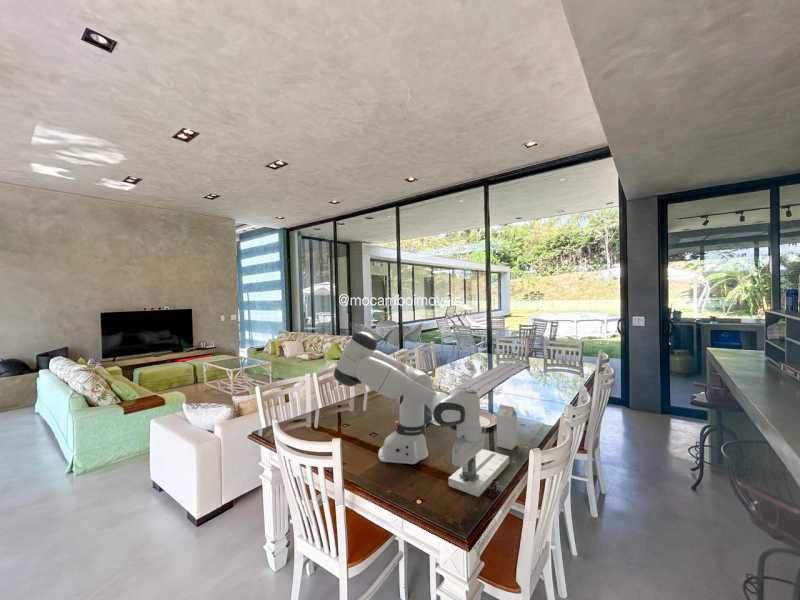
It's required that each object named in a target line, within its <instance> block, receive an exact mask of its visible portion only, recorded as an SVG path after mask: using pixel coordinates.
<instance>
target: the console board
mask: <svg viewBox="0 0 800 600" xmlns="http://www.w3.org/2000/svg"><path fill="white" fill-rule="evenodd" d="M475 460H476V474H479V477H478V478H477V479H476V480H475V481H472V480H469V479H466V478H464V477H461V476H459V475H460V474H461V473H462V472H463V471H462V467H458V468H459V469H457V470H456V471H455V472H453V474H451V475H450V476H449V477H448V487H450V488H453V489H456V490H458V491H462V492H464V493H467V494H470V495H472V496H475V497H477V498H479V497H480V496H481V495H482V494H483V493H484V491H486V490H487V488H489V486H490V485H491V484H492V483H494V481H495V480H496V478H497V477H499V475H500V474H501V473H502V472H503V471H504V470H505V469H506V467H507V466H509V464H510V456H509V455H505V454H501V453H499V452H495V451H492V450H488V449H485V448H483V449H482V450H481V451H480V452H479V453H477V454H476V459H475ZM494 479H495V480H494ZM493 480H494V481H493Z"/></svg>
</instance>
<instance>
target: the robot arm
mask: <svg viewBox="0 0 800 600" xmlns="http://www.w3.org/2000/svg"><path fill="white" fill-rule="evenodd" d="M377 345H378V341H377V339H376V338H375V336H373V334H371V333H370V332H367V331H362V330H361V331H356V332H355V333H354V334H353V335H352V336H351V339H350V340H349V342H348V343H347V345H346V346H345V348H344V349H343V351H342V354H341V355H340V357H339V360H338V363H337V364H336V365H337V366H335V369H334V372H333V376H334V379H335V380H336V381H337V382H338V383H339V384H341V385H342V386H346V387H355V386H357V385H361V384H362V383H363V384H364V386H366V387H368V388H369V389H371V390H372V391H374V392H375V393H376V392H377V393H378V394H380V395H382V396H384V397H387V398H390V399H398V398H400V397H402V396H403V399H402V402H401V403H400V404H399V421H398V420H395V421H394V424H393V425H394V426H395V428H394V431H393V432H392V433H391V434H388V435H387V436H386V437H385V439H384V442H383V445H382V446H381V447H379V450H378V454H377V455H378V457H377V458H378V460H379V461H380V462H381V463H382V462H383V463H395V464H407V465H408V464H409V465H415V464H417V463H418V462H420V461H422V460H425V459H426V458H428V457H429V452H428V448H427V443H426V432H427V431H426V430H427V429H426V423H425V422H424V404H425V405H427V406H428V408H429V409H430V410H431V412H432V418H434V421H435V422H436V423H437V424H438V425H439V426H442V427H452V426H456V437H457V439H456V441H455V442H454V443H453V446H452V450H451V451H452V452H451V463H452V465H453V466H455V467H458V468H461V467H462V466H463V471H464V472H468V471H469V466H468V461H469V460H470V459H471V458H472V459H476V454H477V453H479V452H480V451H481V450H482V449H485V444H486V443H485V442H486V439H485V438H486V434H485V433H486V429H487V428H486V427H485V426H482V425H480V420H479V416H480V411H481V402H480V401H481V399H480V396H479V393H477V392H476V390H475V389H472V388H469V387H459V388H457V390H455V391H454V392H453V393H451V394H450V393H449V392H447V391H445V390H442V389H433V379H432V378H431V377H430V375H427V374H426V373H425V372H423V371H421V370H419V368H415V367H413V366H410V365H408V364H406V363H404V362H402V361H400V360H398V359H396V358H394V357H393V356H390V355H389V354H386V353H384V352H382V351H381V350H378V349H377Z"/></svg>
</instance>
